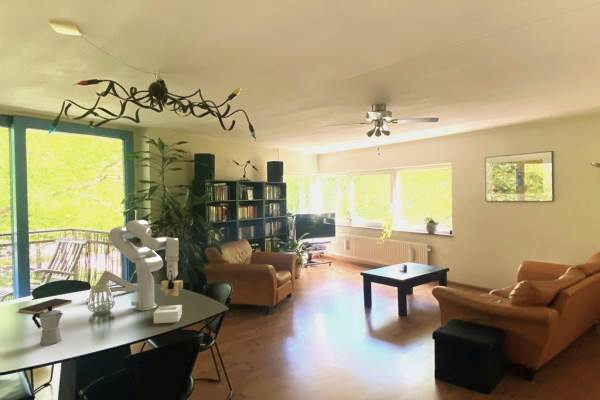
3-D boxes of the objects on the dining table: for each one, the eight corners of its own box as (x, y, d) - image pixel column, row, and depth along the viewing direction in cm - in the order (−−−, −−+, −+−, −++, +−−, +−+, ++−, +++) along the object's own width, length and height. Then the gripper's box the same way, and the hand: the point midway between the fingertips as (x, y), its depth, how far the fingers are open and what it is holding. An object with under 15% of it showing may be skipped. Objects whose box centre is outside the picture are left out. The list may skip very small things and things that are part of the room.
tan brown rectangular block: (160, 296, 212) (160, 283, 211) (162, 294, 217) (162, 280, 216) (181, 296, 213) (181, 282, 213) (182, 293, 218) (182, 280, 218)
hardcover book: (72, 303, 235) (72, 300, 235) (37, 315, 213) (37, 311, 213) (54, 301, 240) (54, 298, 239) (18, 312, 218) (18, 308, 218)
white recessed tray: (153, 323, 195) (153, 312, 195) (159, 316, 207) (159, 306, 207) (178, 322, 197) (177, 311, 197) (181, 314, 209) (181, 304, 209)
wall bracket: (124, 316, 253) (89, 302, 232) (121, 315, 255) (86, 301, 234) (140, 288, 264) (108, 271, 242) (137, 287, 266) (104, 270, 245)
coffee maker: (69, 338, 176) (68, 302, 176) (58, 345, 167) (57, 308, 167) (39, 338, 176) (38, 303, 175) (26, 346, 167) (25, 309, 167)
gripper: (175, 260, 207) (175, 291, 207) (180, 255, 223) (180, 283, 224) (162, 261, 205) (162, 291, 206) (168, 255, 222) (168, 284, 223)
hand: (171, 287), depth 215 cm, fingers closed on tan brown rectangular block, 5 cm apart
